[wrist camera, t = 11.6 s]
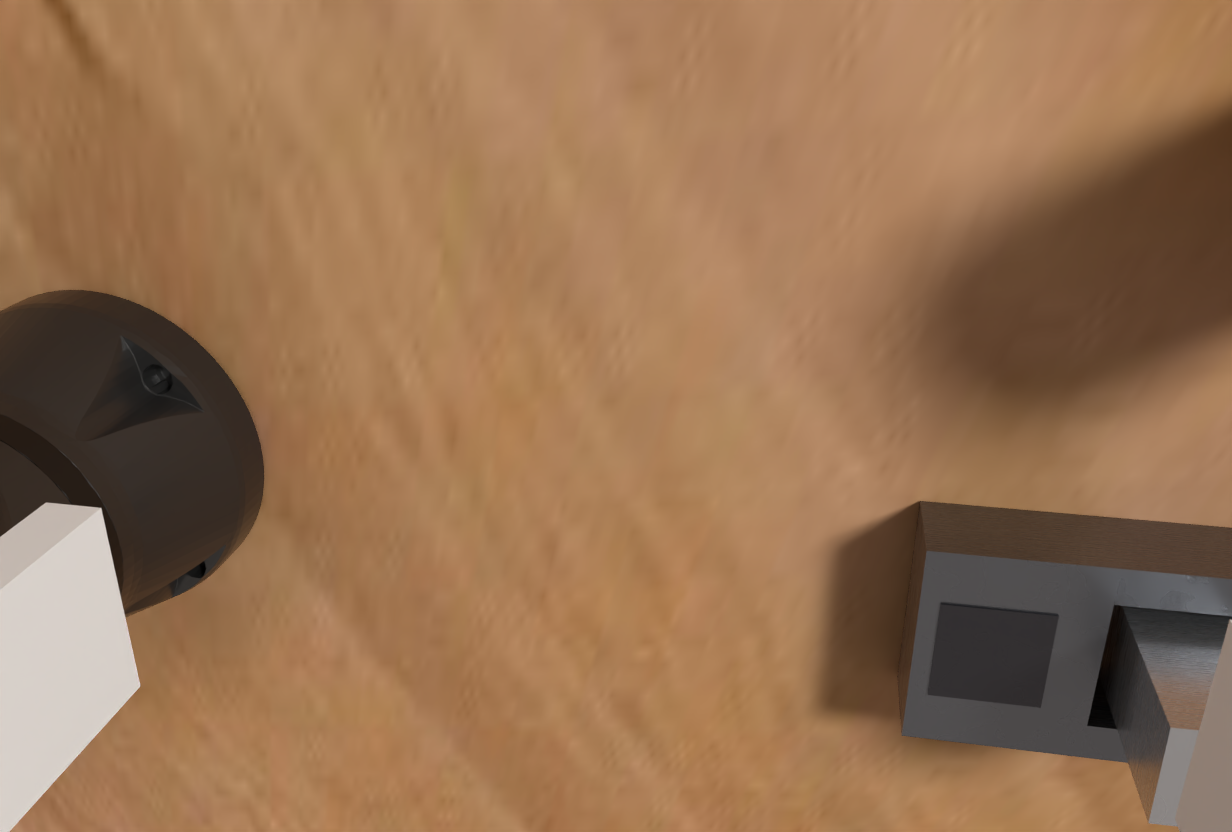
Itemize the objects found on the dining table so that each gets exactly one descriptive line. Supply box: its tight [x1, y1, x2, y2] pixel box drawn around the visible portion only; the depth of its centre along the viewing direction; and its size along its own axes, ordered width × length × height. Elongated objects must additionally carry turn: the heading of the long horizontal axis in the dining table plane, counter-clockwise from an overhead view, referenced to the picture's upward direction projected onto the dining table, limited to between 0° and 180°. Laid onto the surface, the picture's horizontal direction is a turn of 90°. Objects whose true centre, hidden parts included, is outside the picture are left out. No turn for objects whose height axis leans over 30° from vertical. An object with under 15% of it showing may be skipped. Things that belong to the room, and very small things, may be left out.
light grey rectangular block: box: [1099, 605, 1232, 826], centre depth 42 cm, size 4×4×10 cm
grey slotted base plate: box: [897, 501, 1232, 763], centre depth 45 cm, size 20×9×4 cm, turn 90°
